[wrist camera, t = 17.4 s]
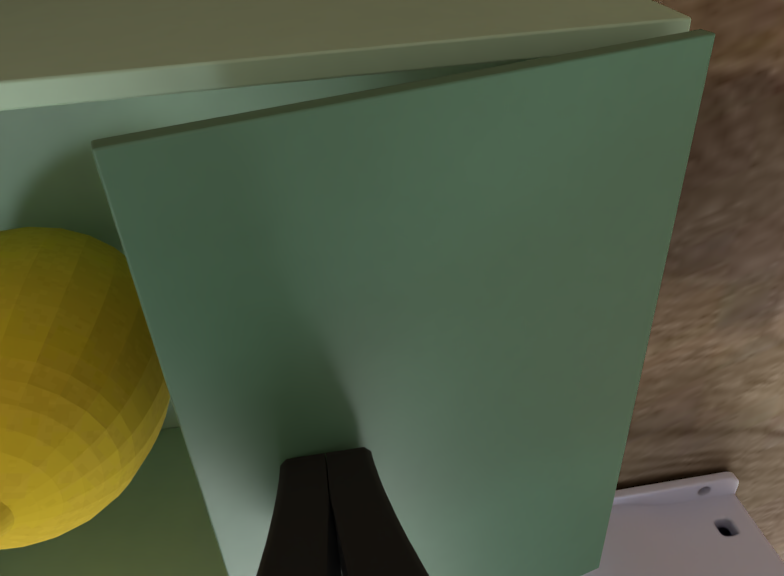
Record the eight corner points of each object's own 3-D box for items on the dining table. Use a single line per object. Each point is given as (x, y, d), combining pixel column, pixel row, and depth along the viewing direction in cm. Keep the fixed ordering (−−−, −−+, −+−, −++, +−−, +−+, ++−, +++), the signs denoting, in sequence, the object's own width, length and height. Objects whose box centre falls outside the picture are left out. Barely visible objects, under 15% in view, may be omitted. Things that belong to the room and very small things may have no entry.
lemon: (-62, 321, 17) (-254, 617, 11) (-25, 132, 15) (-245, 368, 8) (155, 373, 19) (102, 649, 13) (219, 215, 17) (193, 457, 10)
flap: (701, 27, 10) (716, 33, 9) (591, 558, 17) (599, 567, 17) (89, 139, 7) (90, 149, 7) (269, 702, 14) (272, 716, 14)
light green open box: (543, -49, 15) (693, 16, 10) (512, 377, 22) (589, 543, 17) (-275, 16, 13) (-615, 138, 8) (-19, 456, 21) (-113, 668, 15)
